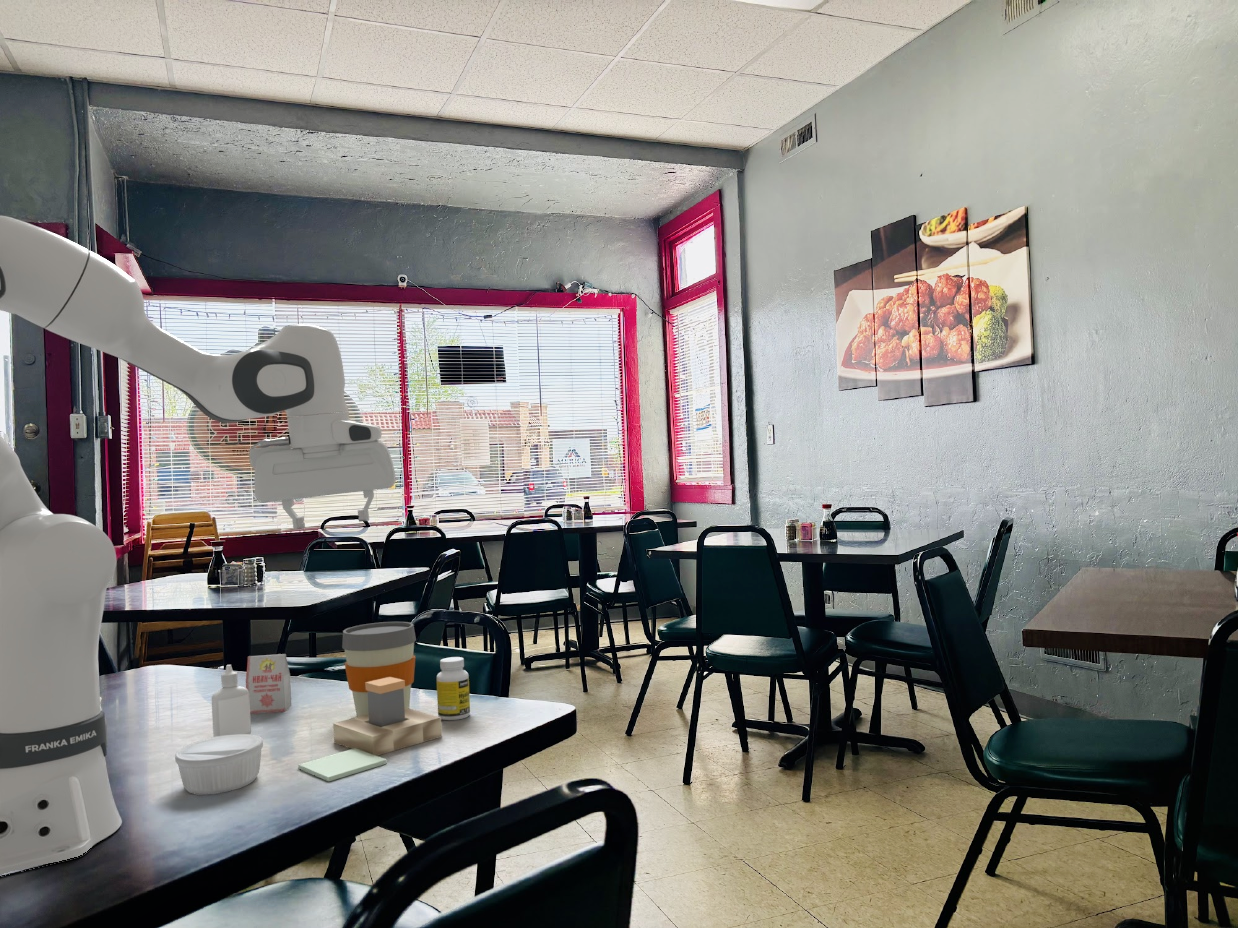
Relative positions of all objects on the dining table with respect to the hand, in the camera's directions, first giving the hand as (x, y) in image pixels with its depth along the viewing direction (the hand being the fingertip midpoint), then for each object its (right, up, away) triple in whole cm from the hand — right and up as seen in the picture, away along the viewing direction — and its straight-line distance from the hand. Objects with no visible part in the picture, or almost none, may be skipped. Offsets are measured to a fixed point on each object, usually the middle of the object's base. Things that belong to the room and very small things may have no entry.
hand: (332, 524), depth 135 cm
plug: (+7, -34, +6) cm, 35 cm away
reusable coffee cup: (+2, -35, +22) cm, 41 cm away
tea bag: (-21, -36, +29) cm, 51 cm away
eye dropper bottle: (-20, -36, +11) cm, 43 cm away
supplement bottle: (+15, -34, +17) cm, 41 cm away
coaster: (+4, -34, -6) cm, 35 cm away
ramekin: (-12, -36, -11) cm, 39 cm away
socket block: (+7, -34, +6) cm, 35 cm away
